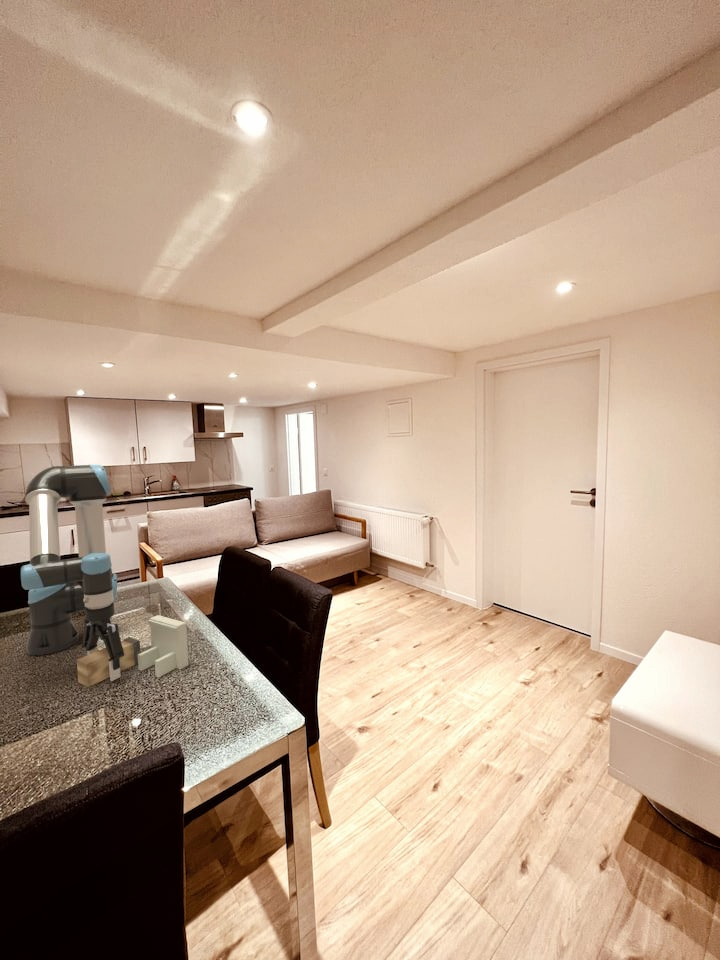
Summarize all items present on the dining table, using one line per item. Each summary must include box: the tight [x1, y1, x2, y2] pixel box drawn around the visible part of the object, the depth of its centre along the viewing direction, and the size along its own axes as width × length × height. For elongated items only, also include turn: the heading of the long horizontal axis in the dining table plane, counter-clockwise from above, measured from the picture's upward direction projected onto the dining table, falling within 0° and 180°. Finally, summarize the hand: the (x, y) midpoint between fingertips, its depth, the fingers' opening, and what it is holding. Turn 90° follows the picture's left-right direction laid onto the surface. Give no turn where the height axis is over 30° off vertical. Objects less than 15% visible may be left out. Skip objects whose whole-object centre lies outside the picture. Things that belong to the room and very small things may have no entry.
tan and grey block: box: [76, 636, 141, 688], centre depth 126 cm, size 16×6×7 cm, turn 151°
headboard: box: [137, 614, 189, 678], centre depth 128 cm, size 14×9×14 cm, turn 61°
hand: (104, 674), depth 124 cm, fingers open, 11 cm apart
